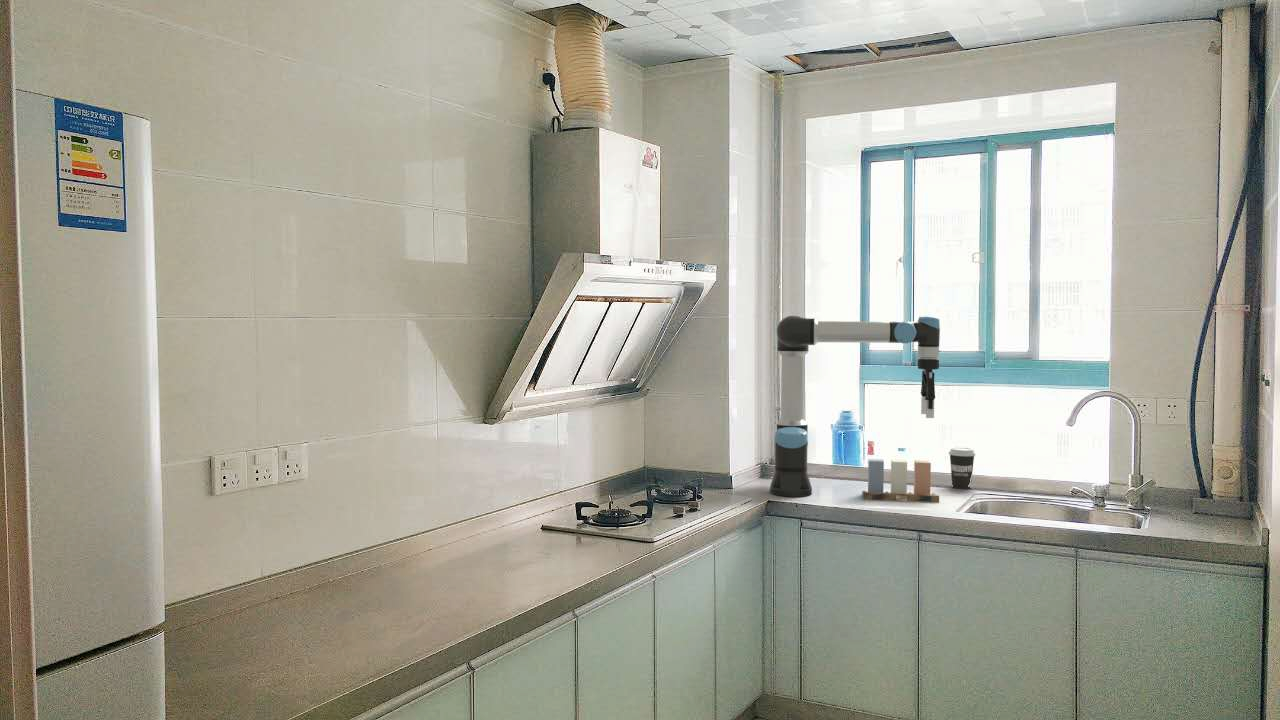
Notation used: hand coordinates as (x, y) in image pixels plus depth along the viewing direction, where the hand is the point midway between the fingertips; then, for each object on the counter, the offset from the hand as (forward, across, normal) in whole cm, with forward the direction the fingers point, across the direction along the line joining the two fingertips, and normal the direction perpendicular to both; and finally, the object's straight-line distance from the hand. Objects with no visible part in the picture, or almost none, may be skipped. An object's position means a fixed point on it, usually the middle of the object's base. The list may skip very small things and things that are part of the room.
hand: (927, 416), depth 333 cm
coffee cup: (+28, +9, -14) cm, 33 cm away
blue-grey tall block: (+27, -14, +19) cm, 36 cm away
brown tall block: (+27, -14, +3) cm, 31 cm away
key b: (+27, -14, +11) cm, 32 cm away
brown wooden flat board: (+28, -16, +11) cm, 34 cm away
